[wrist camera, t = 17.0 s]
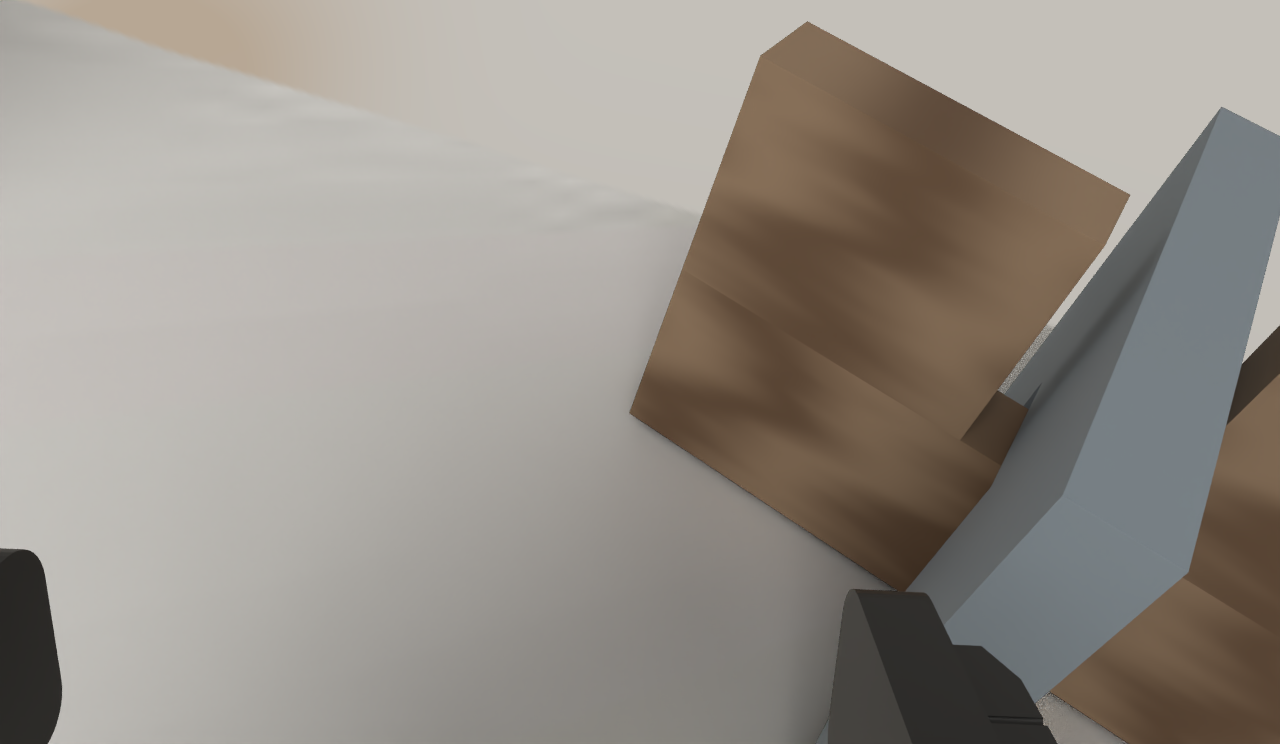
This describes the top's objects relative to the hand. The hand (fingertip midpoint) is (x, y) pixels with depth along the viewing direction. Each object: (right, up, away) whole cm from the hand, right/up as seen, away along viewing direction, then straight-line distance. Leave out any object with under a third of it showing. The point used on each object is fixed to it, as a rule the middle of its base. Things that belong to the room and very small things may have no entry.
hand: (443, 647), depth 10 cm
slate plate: (+10, -3, +19) cm, 22 cm away
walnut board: (+10, -3, +19) cm, 22 cm away
